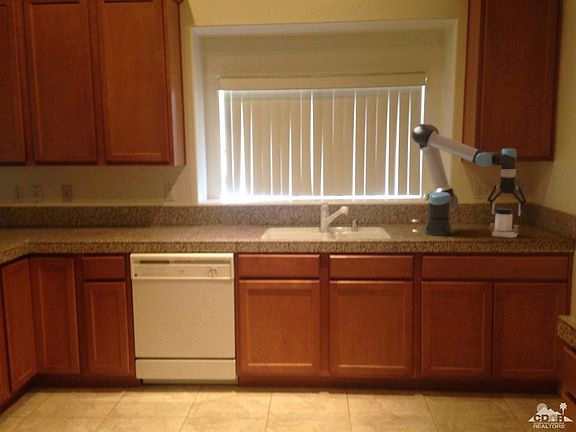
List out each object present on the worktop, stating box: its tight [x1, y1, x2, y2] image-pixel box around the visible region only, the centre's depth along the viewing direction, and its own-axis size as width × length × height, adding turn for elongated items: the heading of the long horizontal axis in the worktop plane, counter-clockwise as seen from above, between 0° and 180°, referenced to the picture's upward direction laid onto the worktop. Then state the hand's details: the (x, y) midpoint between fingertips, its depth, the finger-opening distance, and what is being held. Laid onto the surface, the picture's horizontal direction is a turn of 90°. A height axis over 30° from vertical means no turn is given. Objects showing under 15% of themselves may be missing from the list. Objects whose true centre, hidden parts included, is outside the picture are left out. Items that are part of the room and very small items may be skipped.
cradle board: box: [489, 223, 520, 238], centre depth 284 cm, size 15×16×7 cm
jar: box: [494, 207, 513, 231], centre depth 283 cm, size 9×8×12 cm
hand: (506, 214), depth 282 cm, fingers open, 13 cm apart
